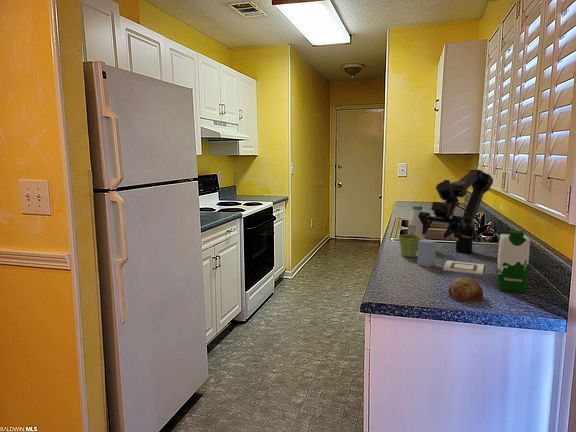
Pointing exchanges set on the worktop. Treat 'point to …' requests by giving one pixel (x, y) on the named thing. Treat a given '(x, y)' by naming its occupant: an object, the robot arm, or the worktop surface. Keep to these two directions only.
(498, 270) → the milk carton
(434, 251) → the blue block
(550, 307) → the worktop surface
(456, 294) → the bread roll
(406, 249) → the plant pot
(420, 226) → the milk bottle
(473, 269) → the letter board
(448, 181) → the robot arm
